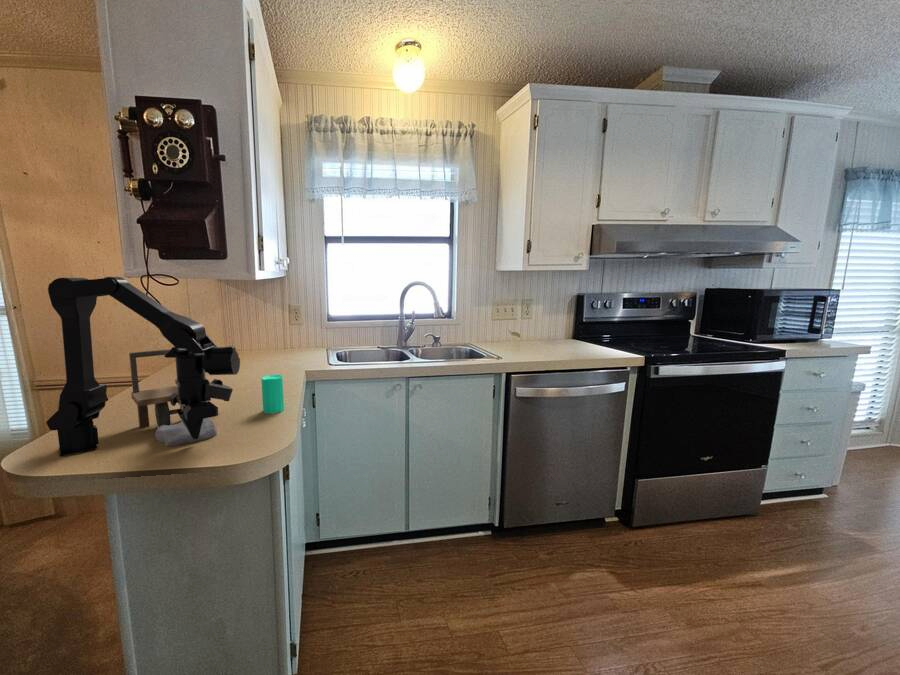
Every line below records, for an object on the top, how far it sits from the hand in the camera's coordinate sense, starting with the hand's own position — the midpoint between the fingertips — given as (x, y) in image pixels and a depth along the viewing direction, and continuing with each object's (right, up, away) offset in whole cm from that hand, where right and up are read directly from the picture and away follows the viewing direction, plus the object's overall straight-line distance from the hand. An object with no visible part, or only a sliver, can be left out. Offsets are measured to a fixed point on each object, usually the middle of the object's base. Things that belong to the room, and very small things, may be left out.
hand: (195, 438), depth 103 cm
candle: (+8, +2, +27) cm, 28 cm away
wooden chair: (-14, +1, +15) cm, 20 cm away
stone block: (-5, -1, +5) cm, 7 cm away
